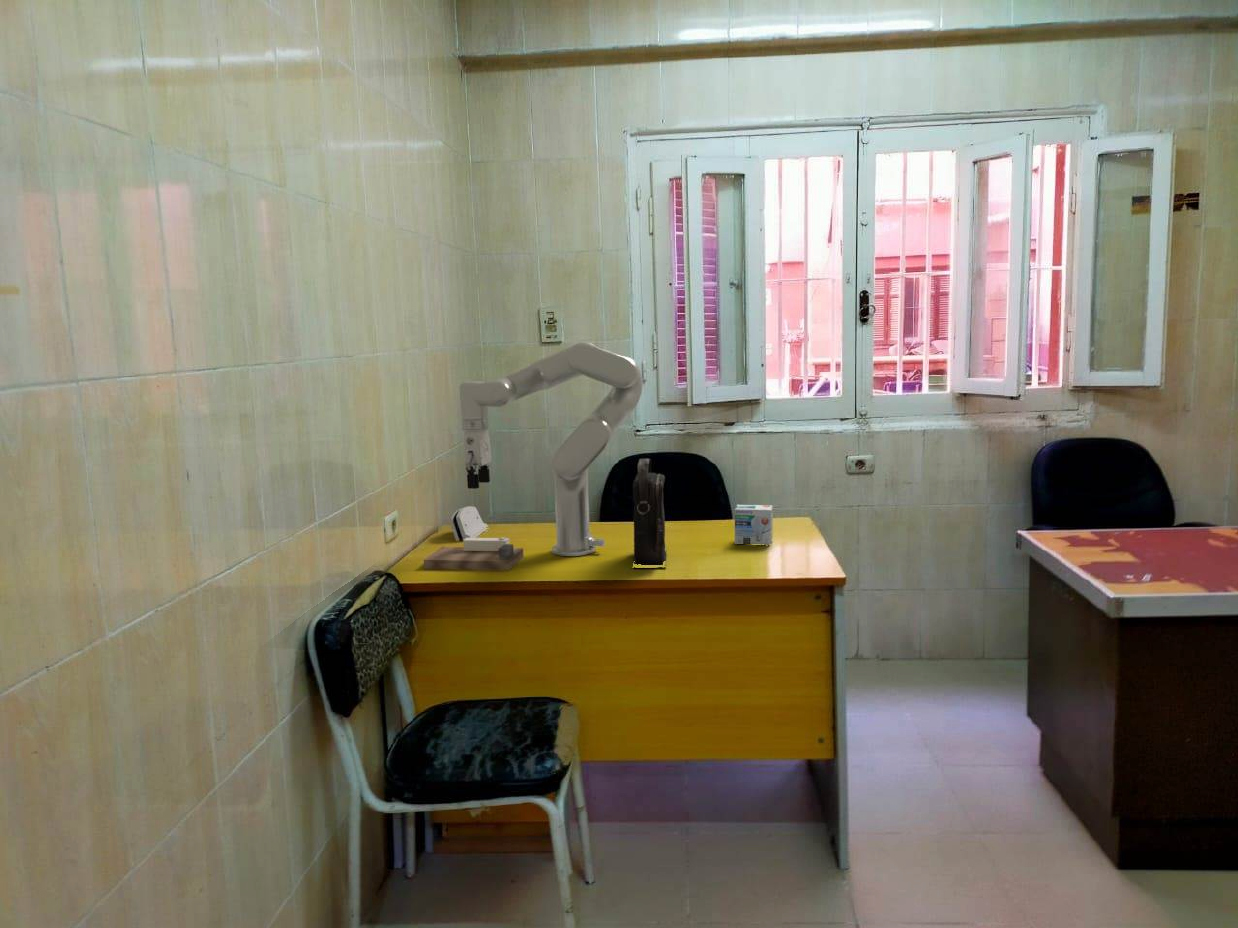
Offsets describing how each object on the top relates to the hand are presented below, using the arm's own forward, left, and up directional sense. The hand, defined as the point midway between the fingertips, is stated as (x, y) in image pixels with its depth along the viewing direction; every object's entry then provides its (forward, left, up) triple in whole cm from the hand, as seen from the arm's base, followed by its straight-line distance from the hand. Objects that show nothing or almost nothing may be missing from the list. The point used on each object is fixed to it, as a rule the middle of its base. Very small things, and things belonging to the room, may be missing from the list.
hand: (479, 485), depth 250 cm
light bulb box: (-77, -17, -20) cm, 81 cm away
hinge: (+12, -22, -20) cm, 32 cm away
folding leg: (-3, +6, -17) cm, 19 cm away
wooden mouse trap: (-1, +10, -20) cm, 22 cm away
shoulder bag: (-49, +2, -20) cm, 53 cm away
